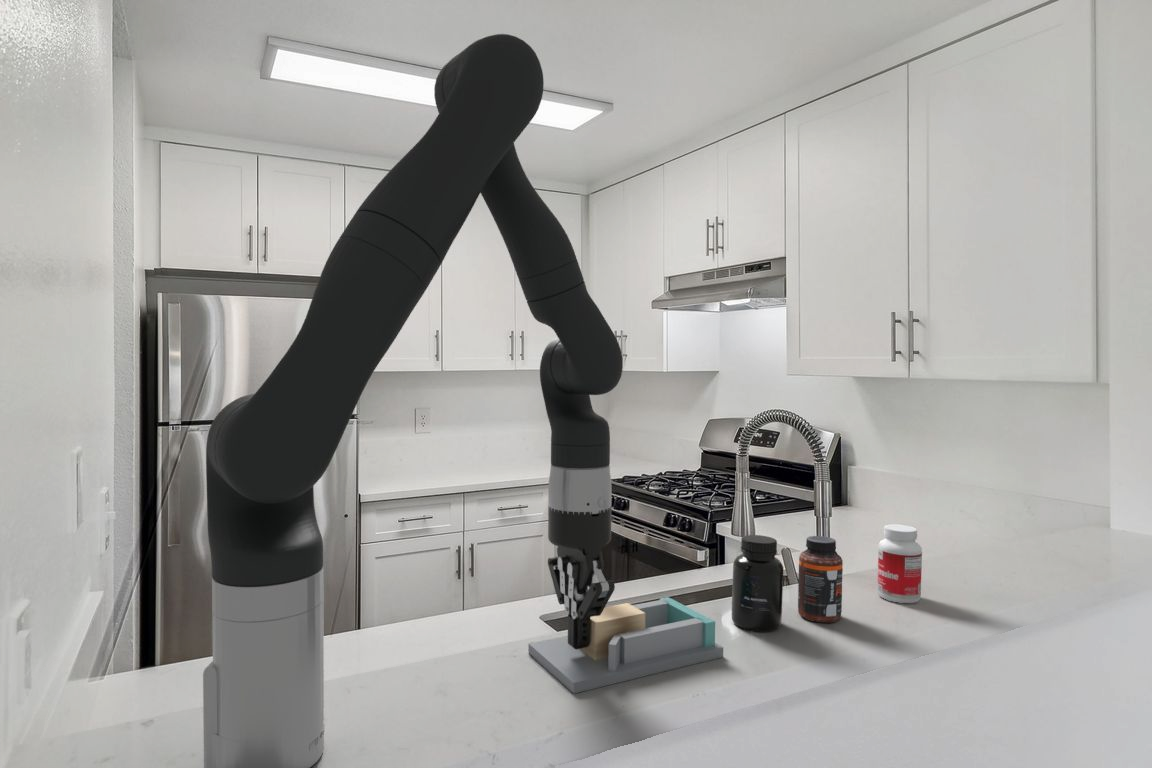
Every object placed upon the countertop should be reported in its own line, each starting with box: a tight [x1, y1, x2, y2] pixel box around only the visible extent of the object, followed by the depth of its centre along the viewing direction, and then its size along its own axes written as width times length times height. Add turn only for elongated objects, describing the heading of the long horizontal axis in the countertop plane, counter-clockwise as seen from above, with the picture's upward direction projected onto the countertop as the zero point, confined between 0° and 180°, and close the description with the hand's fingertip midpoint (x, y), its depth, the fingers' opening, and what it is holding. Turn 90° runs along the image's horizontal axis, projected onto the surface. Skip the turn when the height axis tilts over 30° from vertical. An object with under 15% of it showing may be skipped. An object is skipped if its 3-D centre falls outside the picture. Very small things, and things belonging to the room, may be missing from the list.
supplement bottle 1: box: [731, 534, 784, 633], centre depth 98 cm, size 7×7×12 cm
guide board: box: [528, 596, 724, 694], centre depth 87 cm, size 21×12×4 cm, turn 118°
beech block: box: [581, 602, 645, 660], centre depth 86 cm, size 7×4×4 cm, turn 118°
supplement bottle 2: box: [797, 535, 844, 624], centre depth 101 cm, size 6×6×11 cm
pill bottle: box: [876, 523, 923, 604], centre depth 109 cm, size 6×6×11 cm
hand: (578, 646), depth 84 cm, fingers closed
